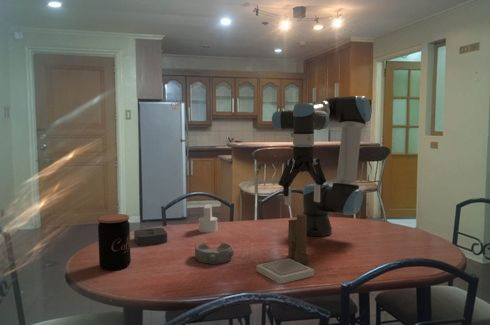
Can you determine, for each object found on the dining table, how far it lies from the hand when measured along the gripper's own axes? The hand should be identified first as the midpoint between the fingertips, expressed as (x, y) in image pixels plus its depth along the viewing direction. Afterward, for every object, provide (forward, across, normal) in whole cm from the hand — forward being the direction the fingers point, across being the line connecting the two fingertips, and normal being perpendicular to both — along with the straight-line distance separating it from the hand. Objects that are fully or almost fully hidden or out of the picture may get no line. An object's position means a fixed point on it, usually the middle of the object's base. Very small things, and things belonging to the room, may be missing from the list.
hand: (302, 203), depth 150 cm
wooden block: (+22, -1, +1) cm, 22 cm away
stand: (+22, -14, -8) cm, 27 cm away
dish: (+22, -28, +18) cm, 40 cm away
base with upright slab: (+22, -12, +57) cm, 62 cm away
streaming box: (+22, -41, +54) cm, 71 cm away
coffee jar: (+22, -62, +29) cm, 72 cm away
